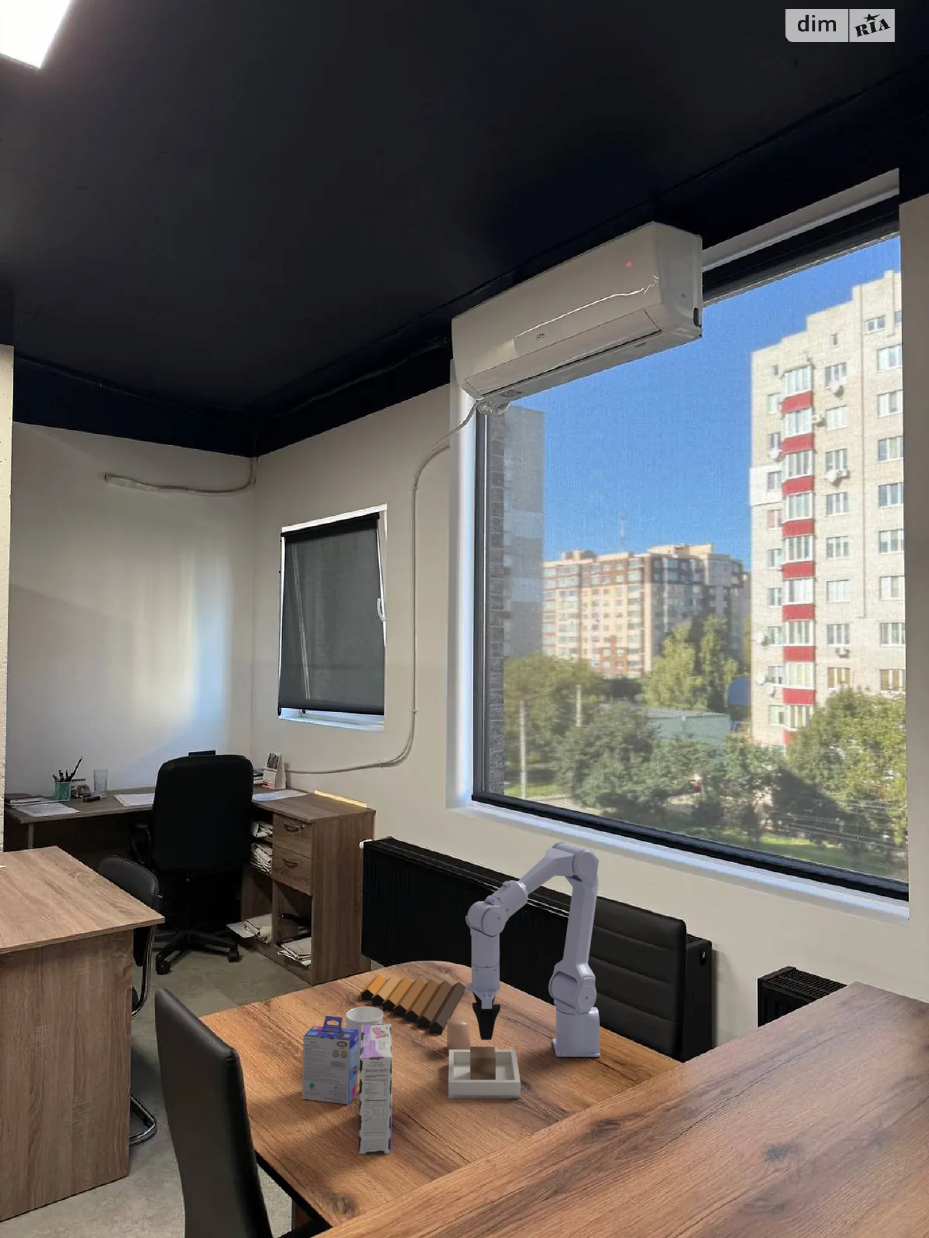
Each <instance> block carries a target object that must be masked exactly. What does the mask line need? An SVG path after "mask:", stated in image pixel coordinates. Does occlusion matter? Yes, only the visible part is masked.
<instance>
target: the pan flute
mask: <svg viewBox="0 0 929 1238" xmlns="http://www.w3.org/2000/svg"><path fill="white" fill-rule="evenodd" d="M465 990H466V985H465V984H463V983H461V982H460V981H458V982H456V983H455V984H453V985H452V984H450V983H449V982H448V981H447V980H446V979H445V980H444V981H442V982H440V983H438V982H436V981H435V979H433V978H432V979H430V980H429V981H427V982H424V981H423V980H422V979H421V978H419V977H418V978H417V979H415V980H414V981H411V980H410V979H409V978H408V977H406V976H405V977H404V978H402V979H401V980H398V979H397V978H396V977H395V976H393V975H391V976H390V977H389V978H387V979H385V978H384V977H383V976H382V975H380V974H378V975H377V976H376V977H374V978H373V979H372V980H371V981H370V982H369V983H368V984H367V985H366V987H364V989H363V990H362V992H360V996H361V1000H362V1001H368V1002H369V1001H370V1002H371V1003H372V1004H371V1005H372V1006H376V1007H377V1006H378V1007H382V1009H383V1010H382V1011H384V1012H392V1013H393V1015H394V1017H399V1016H400V1017H401V1018H405V1022H406V1023H415V1024H416V1026H417V1028H420V1029H428V1031H429V1034H430V1033H431V1034H432V1035H442V1034H443V1033H444V1030H445V1029H446V1028H447V1020H448V1019H450V1018H452V1016H453V1014H454V1012H455V1010H456V1008H457V1006H458V1005H459V1003H460V1001H461V999H462V998H463V995H464V994H465Z"/></svg>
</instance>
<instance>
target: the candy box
mask: <svg viewBox="0 0 929 1238" xmlns="http://www.w3.org/2000/svg"><path fill="white" fill-rule="evenodd" d="M392 1027H393V1026H392V1023H383V1024H375V1025H362V1030H361V1042H360V1066H359V1069H358V1073H359V1074H358V1079H359V1080H358V1083H359V1084H358V1088H359V1089H358V1090H359V1091H358V1093H359V1095H358V1147H357V1148H358V1153H357V1154H358V1155H390V1153H391V1151H392V1120H393V1119H392V1117H393V1116H392V1115H393V1032H392V1031H393V1029H392Z"/></svg>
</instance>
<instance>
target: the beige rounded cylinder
mask: <svg viewBox="0 0 929 1238" xmlns="http://www.w3.org/2000/svg"><path fill="white" fill-rule="evenodd" d="M470 1047H471V1020H470V1019H469V1018H467V1017H466V1016H465V1017H464V1016H453V1017H452V1016H451V1018H450V1019H448V1020H447V1025H446V1051H447V1052H448V1053H449V1050H470Z"/></svg>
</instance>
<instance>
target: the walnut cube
mask: <svg viewBox="0 0 929 1238" xmlns="http://www.w3.org/2000/svg"><path fill="white" fill-rule="evenodd" d="M495 1050H496V1049H495V1046H470V1080H496V1056H495Z"/></svg>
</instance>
